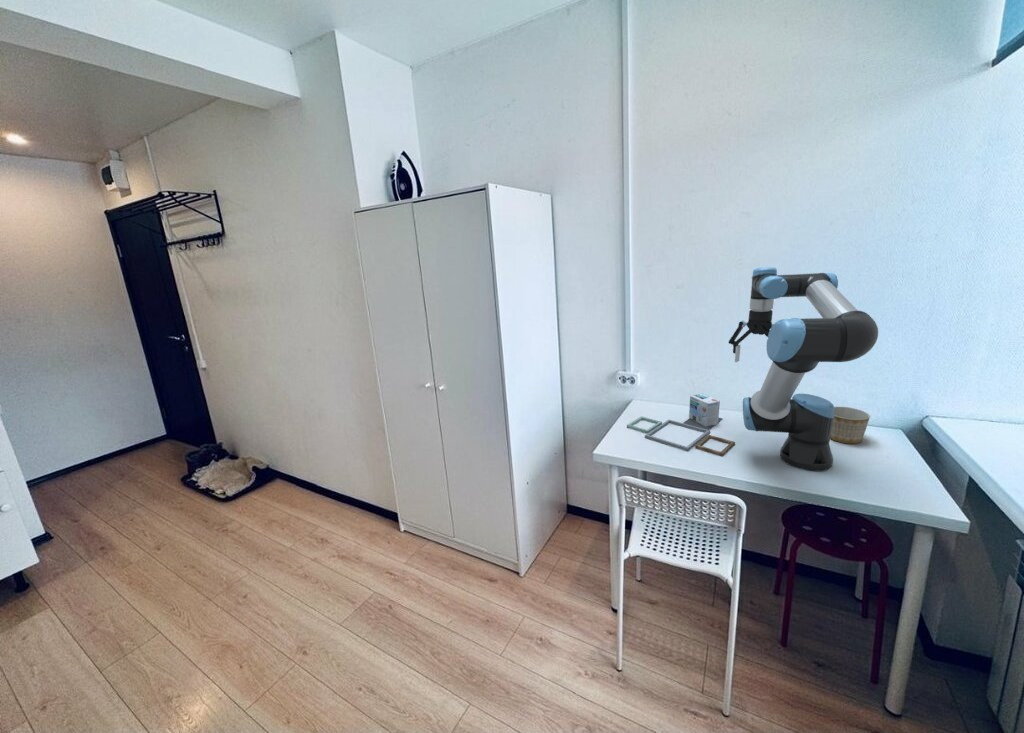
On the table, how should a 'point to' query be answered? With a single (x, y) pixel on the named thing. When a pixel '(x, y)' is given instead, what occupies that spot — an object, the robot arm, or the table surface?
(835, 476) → the table surface
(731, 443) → the walnut frame
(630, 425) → the teal frame
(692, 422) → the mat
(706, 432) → the slate frame
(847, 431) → the planter
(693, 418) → the light bulb box
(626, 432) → the table surface
